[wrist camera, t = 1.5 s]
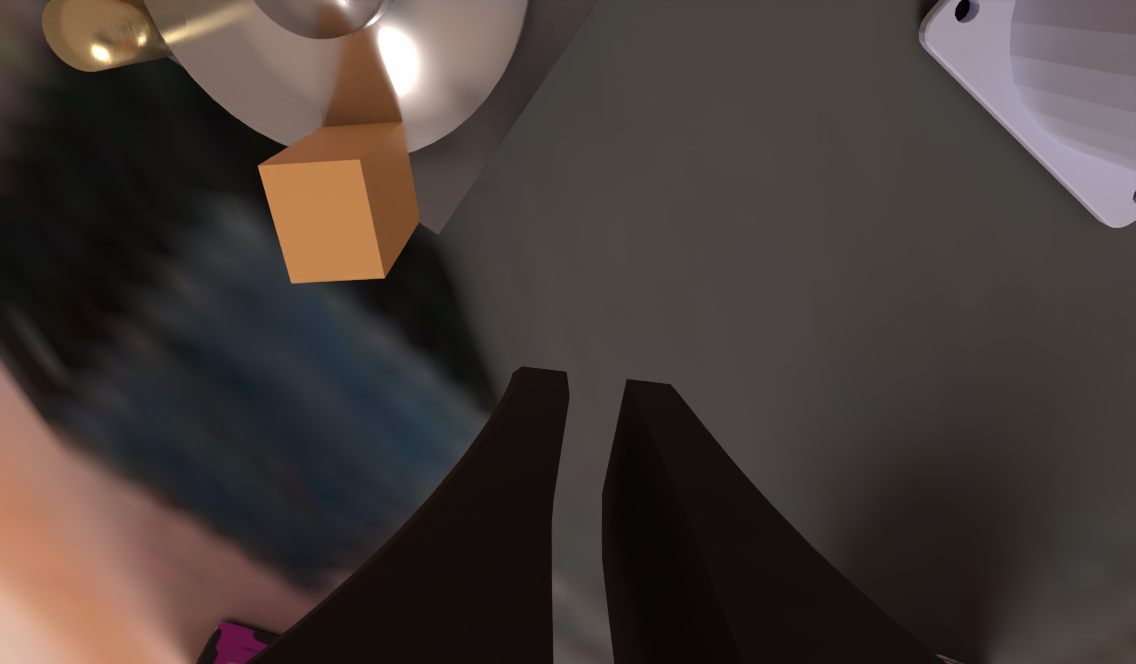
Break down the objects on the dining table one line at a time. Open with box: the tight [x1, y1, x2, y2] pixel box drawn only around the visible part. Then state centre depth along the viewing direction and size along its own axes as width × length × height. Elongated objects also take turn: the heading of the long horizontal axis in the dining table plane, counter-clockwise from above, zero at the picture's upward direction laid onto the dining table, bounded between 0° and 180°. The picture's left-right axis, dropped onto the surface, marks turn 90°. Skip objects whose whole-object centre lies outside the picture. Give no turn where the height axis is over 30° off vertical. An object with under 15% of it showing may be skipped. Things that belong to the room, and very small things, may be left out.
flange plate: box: [143, 0, 529, 283], centre depth 11 cm, size 8×7×4 cm
